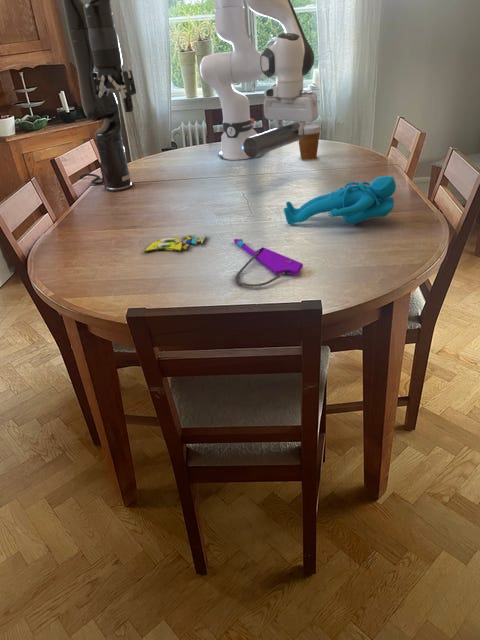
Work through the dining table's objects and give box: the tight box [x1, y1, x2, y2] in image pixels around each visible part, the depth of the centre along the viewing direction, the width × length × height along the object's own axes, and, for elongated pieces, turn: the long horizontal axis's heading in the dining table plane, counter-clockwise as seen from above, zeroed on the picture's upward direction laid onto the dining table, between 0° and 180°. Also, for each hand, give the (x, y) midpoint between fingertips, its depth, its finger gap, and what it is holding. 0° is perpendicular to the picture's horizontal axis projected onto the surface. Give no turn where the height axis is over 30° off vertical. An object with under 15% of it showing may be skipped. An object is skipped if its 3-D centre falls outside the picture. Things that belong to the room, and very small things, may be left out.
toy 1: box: [144, 234, 207, 254], centre depth 130 cm, size 10×1×15 cm
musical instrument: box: [233, 238, 304, 287], centre depth 115 cm, size 24×2×20 cm
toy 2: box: [283, 175, 397, 226], centre depth 132 cm, size 17×11×30 cm
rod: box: [243, 121, 304, 159], centre depth 160 cm, size 26×6×6 cm, turn 140°
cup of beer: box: [298, 123, 322, 161], centre depth 190 cm, size 10×10×12 cm
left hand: (118, 111), depth 137 cm, fingers open, 8 cm apart
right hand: (290, 134), depth 166 cm, fingers closed on rod, 6 cm apart
